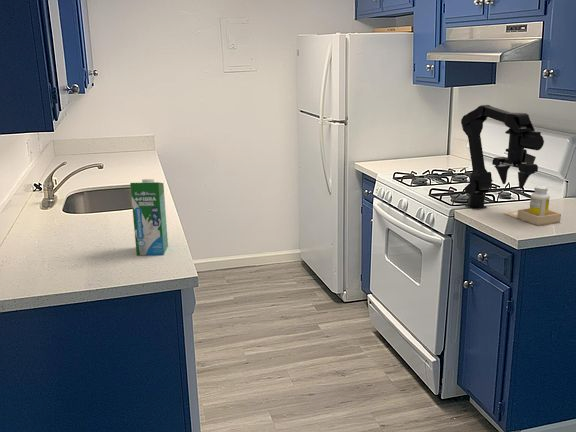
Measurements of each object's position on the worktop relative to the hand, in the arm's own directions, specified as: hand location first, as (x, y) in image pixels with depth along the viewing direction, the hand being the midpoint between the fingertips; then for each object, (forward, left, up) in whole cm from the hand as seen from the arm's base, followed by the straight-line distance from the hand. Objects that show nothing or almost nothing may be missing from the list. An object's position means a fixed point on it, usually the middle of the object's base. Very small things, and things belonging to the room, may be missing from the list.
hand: (512, 186), depth 228 cm
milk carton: (-19, -137, -13) cm, 139 cm away
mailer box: (+3, +8, -13) cm, 16 cm away
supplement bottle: (+7, +8, -13) cm, 16 cm away
